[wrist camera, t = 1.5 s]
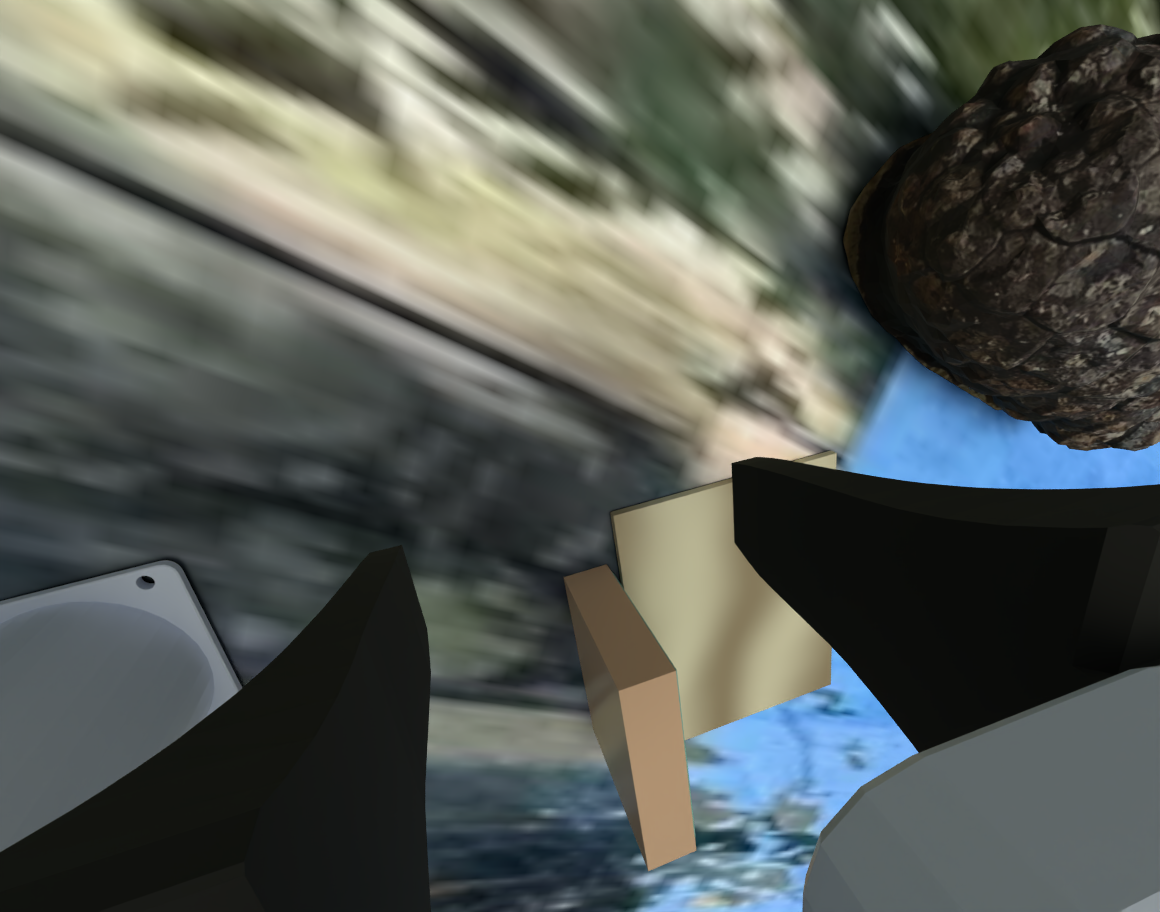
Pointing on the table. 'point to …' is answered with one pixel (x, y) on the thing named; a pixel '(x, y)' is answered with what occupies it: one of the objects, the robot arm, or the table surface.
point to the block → (634, 713)
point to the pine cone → (1032, 242)
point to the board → (715, 607)
